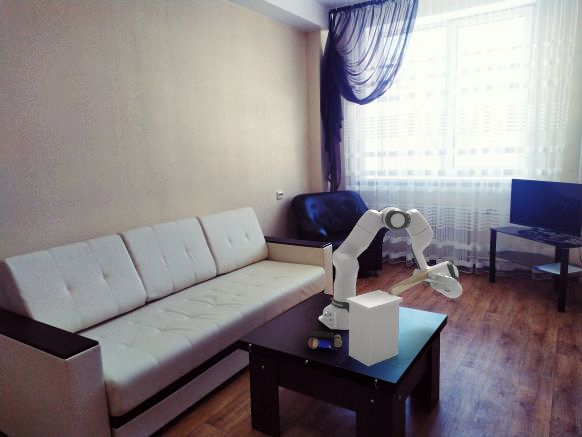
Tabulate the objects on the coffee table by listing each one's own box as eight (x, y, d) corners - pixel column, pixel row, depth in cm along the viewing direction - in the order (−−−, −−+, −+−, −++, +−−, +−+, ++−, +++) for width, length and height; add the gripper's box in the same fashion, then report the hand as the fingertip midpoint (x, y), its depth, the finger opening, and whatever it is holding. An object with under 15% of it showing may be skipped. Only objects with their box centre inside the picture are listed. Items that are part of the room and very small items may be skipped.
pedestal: (345, 355, 186) (346, 298, 182) (378, 343, 197) (379, 289, 193) (368, 368, 174) (369, 307, 170) (401, 354, 185) (402, 298, 181)
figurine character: (340, 347, 196) (307, 343, 197) (342, 332, 195) (309, 328, 196) (340, 354, 189) (307, 350, 190) (342, 338, 188) (309, 334, 189)
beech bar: (389, 294, 189) (388, 288, 188) (426, 274, 202) (426, 268, 201) (394, 296, 186) (393, 290, 186) (431, 275, 200) (431, 270, 199)
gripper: (424, 271, 215) (409, 261, 208) (460, 280, 198) (444, 270, 191) (420, 282, 214) (404, 273, 207) (455, 293, 197) (439, 283, 190)
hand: (424, 272), depth 198 cm, fingers closed on beech bar, 3 cm apart
